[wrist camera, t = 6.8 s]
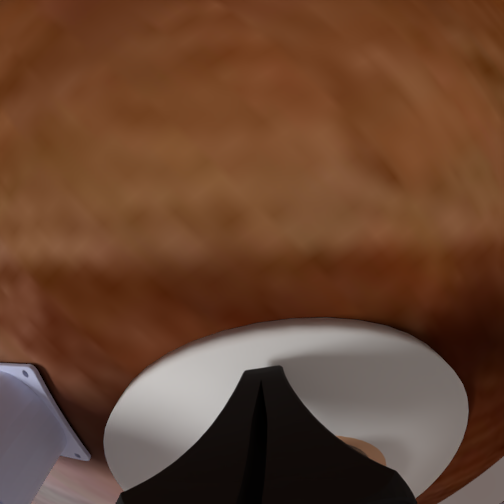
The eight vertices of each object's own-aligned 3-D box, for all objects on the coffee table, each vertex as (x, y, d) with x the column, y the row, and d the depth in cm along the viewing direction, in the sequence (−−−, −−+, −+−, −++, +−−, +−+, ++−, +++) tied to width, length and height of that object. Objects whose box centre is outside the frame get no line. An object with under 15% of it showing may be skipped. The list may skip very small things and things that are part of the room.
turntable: (184, 535, 17) (182, 547, 16) (52, 346, 13) (37, 359, 11) (424, 497, 16) (429, 508, 15) (479, 267, 12) (497, 276, 10)
